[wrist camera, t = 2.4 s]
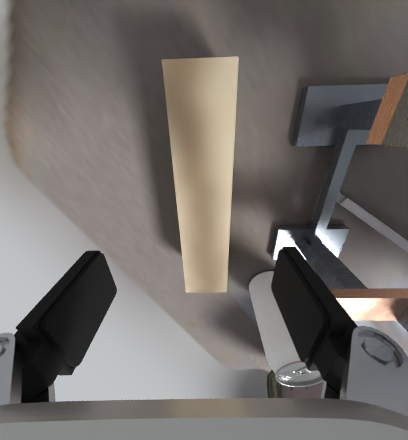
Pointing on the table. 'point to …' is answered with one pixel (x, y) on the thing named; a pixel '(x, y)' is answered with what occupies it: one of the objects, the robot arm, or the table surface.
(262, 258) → the table surface
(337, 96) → the grey support stand
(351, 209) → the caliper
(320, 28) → the table surface
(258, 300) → the can
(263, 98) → the table surface
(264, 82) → the table surface
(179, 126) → the rail
